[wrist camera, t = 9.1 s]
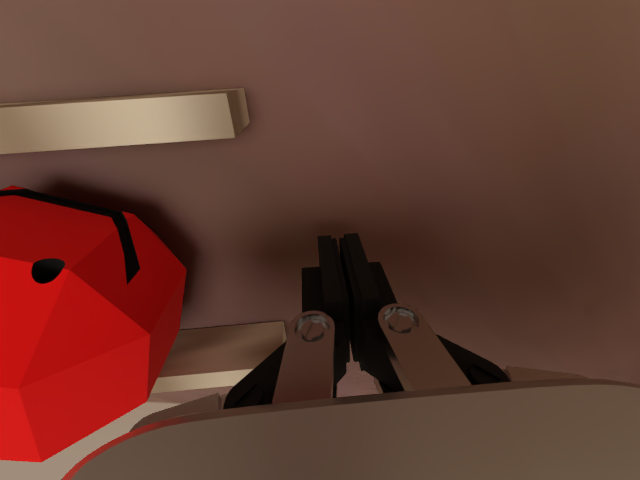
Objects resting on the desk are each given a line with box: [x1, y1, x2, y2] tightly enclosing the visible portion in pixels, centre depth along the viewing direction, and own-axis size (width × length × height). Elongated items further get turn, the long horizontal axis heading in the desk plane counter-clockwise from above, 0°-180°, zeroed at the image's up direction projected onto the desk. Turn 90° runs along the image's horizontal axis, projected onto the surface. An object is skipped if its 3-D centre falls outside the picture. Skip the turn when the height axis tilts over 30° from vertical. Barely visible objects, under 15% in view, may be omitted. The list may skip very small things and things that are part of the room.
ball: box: [0, 185, 187, 462], centre depth 11 cm, size 8×8×8 cm
